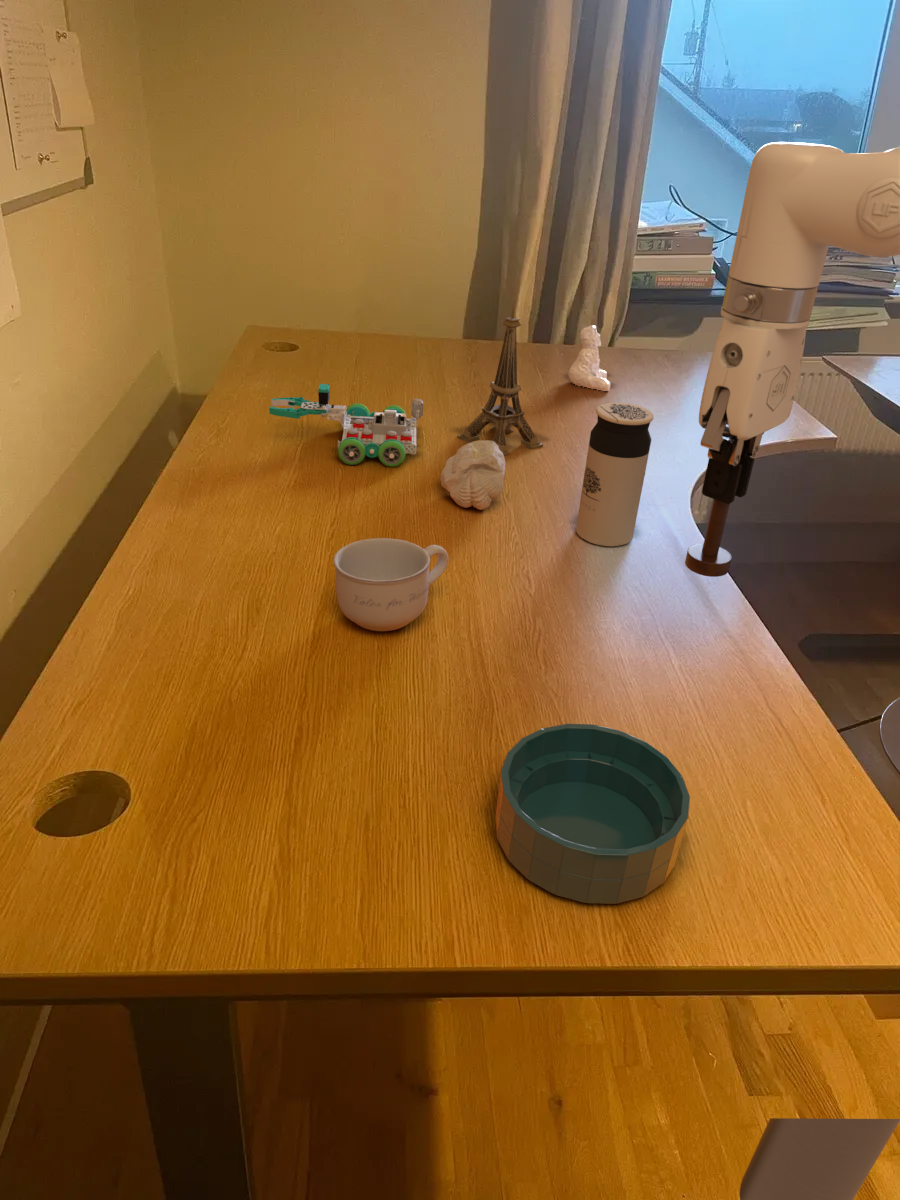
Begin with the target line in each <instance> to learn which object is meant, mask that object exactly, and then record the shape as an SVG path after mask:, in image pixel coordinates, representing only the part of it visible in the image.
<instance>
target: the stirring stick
mask: <svg viewBox="0 0 900 1200" xmlns="http://www.w3.org/2000/svg"><path fill="white" fill-rule="evenodd" d="M727 440H729V441H730V442H731V445H732V444H733V439H729V438H727ZM743 446H744V443H743ZM742 450H743V448H742ZM741 455H742V452H741ZM740 459H741V457H740ZM739 463H740V460H739ZM712 500H713V501H712V505H711V510H710V513H709V518H708V522H707V525H706V526H707V527H706V531H705V534H704V535H705V536H704V540H703V543H695V544H691V545H690V546H689V547H688V548H687V551H686V556H685V561H684V564H685V567H686V568H687V569H688V570H689V571H691V572H693V573H695V574H698V575H700V576H704V577H710V578H711V577H712V578H714V577H715V578H716V577H717V578H718V577H723V576H725V575H727V574H728V573H729V572H730V567H731V563H732V559H733V557H732V554H731V553H730V552H729V551H728V550H727V549H725V548H723V547H721V543H722V539H723V535H724V530H725V526H726V522H727V517H728V513H729V510H730V506H731V503H730V504H726V503H724V502H721V501H718V500H715V499H712Z"/></svg>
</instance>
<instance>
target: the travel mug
mask: <svg viewBox="0 0 900 1200" xmlns="http://www.w3.org/2000/svg"><path fill="white" fill-rule="evenodd" d="M595 413H596V415H597V422H596V423H595V425H594V426H593V428H591V430H590V436H589V442H588V448H587V453H586V462H585V466H584V467H585V468H584V473H583V480H582V485H581V486H582V487H581V493H580V501H579V505H578V506H579V507H578V513H577V519H576V525H575V526H576V527H575V532H576V534H577V535H578V536H579V537H580V538H581V539H583V540H585V541H586V542H588V543H590V544H593V545H597V546H601V547H602V546H603V547H618V546H623V545H626V544H629V543H630V542H631V541H632V540H633V539H634V533H635V527H636V523H637V517H638V513H639V507H640V503H641V502H640V501H641V497H642V491H643V486H644V480H645V476H646V471H647V465H648V459H649V455H650V449H651V444H652V436H651V434H650V431H649V428H650V425H651V423H652V422H653V420H654V417H655V416H654V414H653V412H652V411H651V410H649V409H647V408H646V407H643V406H640V405H637V404H633V403H628V402H627V403H625V402H606V403H602V404H600V405H598V406H596V409H595Z"/></svg>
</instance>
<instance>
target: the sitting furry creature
mask: <svg viewBox="0 0 900 1200" xmlns="http://www.w3.org/2000/svg"><path fill="white" fill-rule="evenodd" d="M579 339H580V343H581V346H582V348H581V349H580V350H579V353H578V356H576V360H575V361H574V362H573V363H572V365H571V366H570V368H569V370H568V371H567V378H568V380H569V382H570V383H571V384H573V385H574V384H575V385H574V386H576V385H578V386H577V387H580V386H583V387H582V388H584V387H587V388H586V389H588V388H593V389H597V390H596V391H598V390H602V391H609V392H610V389H611V384H612V383H611V382H610V381H609V380H608V379H607V378H608V372H607V371H606V370H603V368H600V362H601V359H600V355H599V354H600V353H599V347H601V346H602V342H601V333H599V332H598V331H597V326H596V325H593V324H590V325H589V326H587V327H586V326H585V327H583V328H582V329H581V331H580V334H579ZM593 389H592V390H593ZM602 391H601V392H602Z"/></svg>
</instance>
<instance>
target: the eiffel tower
mask: <svg viewBox="0 0 900 1200" xmlns="http://www.w3.org/2000/svg"><path fill="white" fill-rule="evenodd" d="M512 304H513V305H512V310H511V316H509V317H504V321H503V322H502V324H503V326H505V327H506V328H505V333H504V338H503V343H502V348H501V352H500V357H499V361H498V365H497V370H496V375H495V379H494V381H490V384H489V388H491V391H490V394H489V397H488V400H487V402H486V403H485V405H484V406H483V407H481V411H482V412H480V414H479V415H478V416H477V417H475V418H474V419H473V421H472V422H471V423H469V425H467V427H466V428H465V429H464V431H463V432H462V433H460V434H457V436H456V438H457V439H459V440H462V441H463V442H465V443H472V442H473V441H479V440H480V437H481V436H480V435H479V434H480V433H481V432H482V430H483V429H484V428H485V427H486V426H487V425H489V424H493V425H494V426H492V427H490V429H491V431H494V432H495V433H494V436H493V439H492V441H494V442H495V443H496V444H497V445H498V446H499V450H500V451H501V452H502V453H503V455H504V457H506V456H509V455H510V452H509V450H508V449H507V439H506V434H509V433H513V432H514V429H512V428H511V426H514V427H515V428H516V429H517V431H518V433H519V435H520V437H521V438H522V439H521V440H520V445H522V446H524V447H526V448H528V449H531V450H533V449H537V448H542V447H544V443H542V442H540V441H539V439H538V436H537V435H536V433H535V432H534V431H533V428H532V427H531V425H530V424H529V422H528V421H527V420H526V418H525V416H524V415H525V414H526V411H523V409H522V406H521V402H520V396H519V393H520V392H521V391H522V386H521V385H519V384H518V359H517V357H518V356H517V354H518V352H517V351H518V350H517V346H518V345H517V343H518V342H517V328H519V327H521V326H522V324H521V322H520V321H521V318H517V317H515V304H516V294H514V296H513V303H512ZM498 397H500V404H497V405H496V402H497V399H498ZM509 399H511V404H512V406H510V405H509V401H510V400H509ZM541 446H542V447H541Z"/></svg>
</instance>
